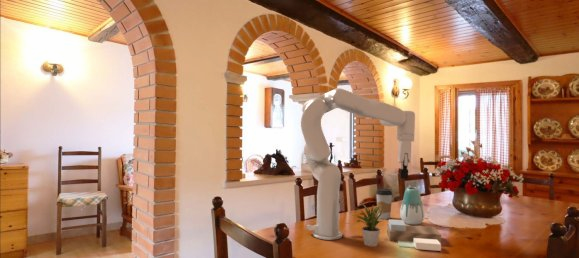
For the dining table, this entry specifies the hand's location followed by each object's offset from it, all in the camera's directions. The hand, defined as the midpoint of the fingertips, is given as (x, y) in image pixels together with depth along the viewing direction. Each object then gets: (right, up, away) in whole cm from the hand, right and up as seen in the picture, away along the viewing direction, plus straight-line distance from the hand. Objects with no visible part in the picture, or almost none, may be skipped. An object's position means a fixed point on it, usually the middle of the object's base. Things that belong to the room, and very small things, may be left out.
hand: (404, 178), depth 156 cm
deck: (+1, -24, -9) cm, 26 cm away
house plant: (-19, -24, -16) cm, 35 cm away
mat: (-2, -24, -18) cm, 30 cm away
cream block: (+2, -21, -22) cm, 30 cm away
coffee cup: (-2, -25, +27) cm, 37 cm away
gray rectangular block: (-6, -20, -8) cm, 22 cm away
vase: (+10, -25, +17) cm, 32 cm away
